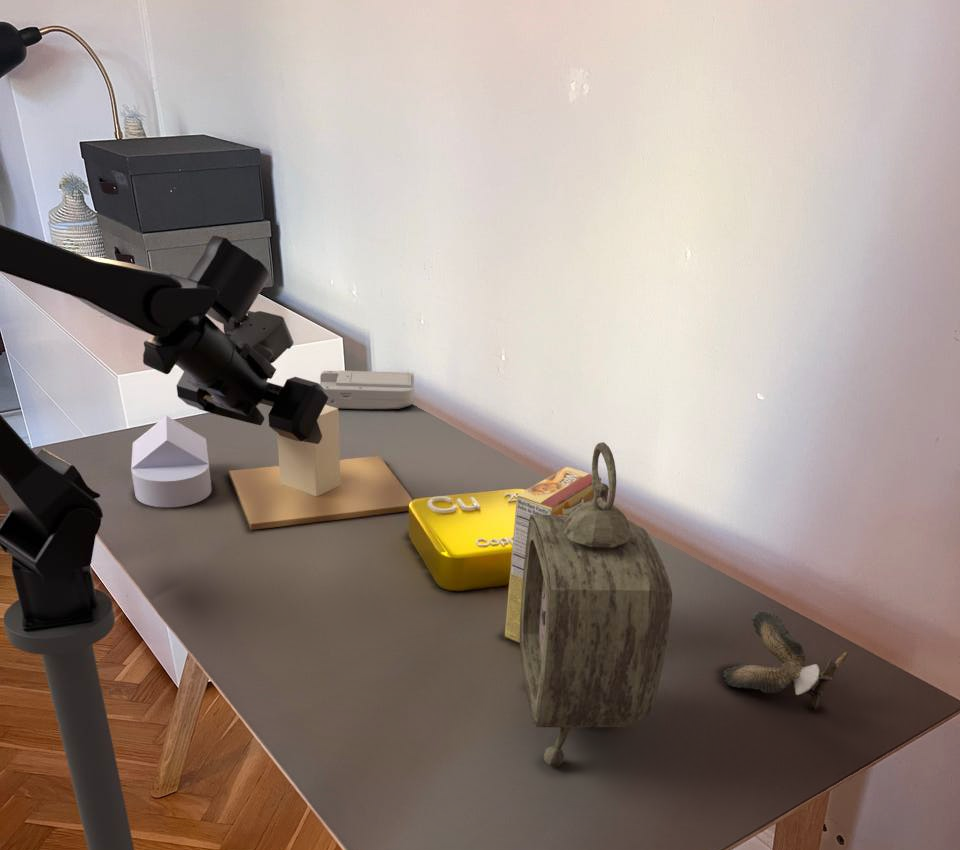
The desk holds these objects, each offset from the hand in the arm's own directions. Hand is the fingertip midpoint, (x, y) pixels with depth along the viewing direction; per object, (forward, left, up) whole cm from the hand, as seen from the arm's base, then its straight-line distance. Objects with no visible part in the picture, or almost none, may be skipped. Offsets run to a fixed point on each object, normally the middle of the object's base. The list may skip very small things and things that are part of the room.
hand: (290, 430), depth 112 cm
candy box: (+17, -36, -9) cm, 41 cm away
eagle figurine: (+33, -52, -9) cm, 63 cm away
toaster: (+2, +2, -8) cm, 8 cm away
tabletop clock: (+13, -51, -9) cm, 54 cm away
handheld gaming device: (+18, +33, -5) cm, 38 cm away
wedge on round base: (-14, +8, -9) cm, 18 cm away
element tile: (+17, -20, -9) cm, 28 cm away
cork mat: (+3, +1, -9) cm, 9 cm away
